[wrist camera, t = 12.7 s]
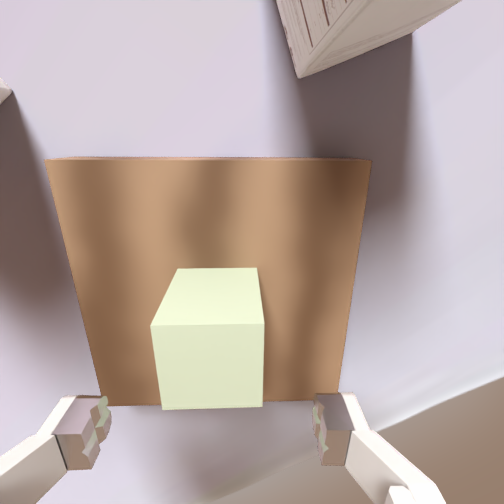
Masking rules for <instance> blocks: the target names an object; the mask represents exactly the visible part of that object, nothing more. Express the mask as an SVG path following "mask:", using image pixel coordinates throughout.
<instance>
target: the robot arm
mask: <svg viewBox="0 0 504 504" xmlns="http://www.w3.org/2000/svg"><path fill="white" fill-rule="evenodd" d="M107 404H108V399H107V396H88V395H66V396H64V397H63V398H61V400H60V401H59V402H58V404H57V405H56V407H55V408H54V409H53V411H52V412H51V414H50V415H49V417H48V418H47V419H46V421H45V422H44V424H43V425H42V426H41V428H40V429H39V431H38V432H37V433H36V435H32V436H30V437H28V438H27V439H25V440H24V441H22V442H21V443H20V444H18V445H17V446H15V447H14V448H12V449H11V450H9V451H8V452H7V453H5V454H4V455H2V456H1V457H0V504H36V503H37V502H38V501H39V500H40V499H41V498H42V497H43V496H44V495H45V494H46V493H47V492H48V491H49V490H50V489H51V488H52V487H53V486H54V485H55V484H56V483H57V482H58V481H59V480H60V479H61V478H62V477H63V476H64V475H65V474H66V473H67V470H86V469H92V467H93V465H94V463H95V461H96V459H97V457H98V455H99V452H100V446H99V444H100V443H101V442H102V441H104V440H105V439H106V437H107V435H108V433H109V430H110V426H111V417H112V416H111V411H110V410H109V409H108V408H106V406H107ZM314 404H315V406H314V407H313V408H312V424H313V430H314V435H315V436H316V437H317V438H318V446H317V448H318V452H319V456H320V460H321V464H322V465H336V466H338V465H339V466H345V468H346V469H347V470H348V472H349V473H350V474H351V475H352V477H353V478H354V479H355V480H356V482H357V483H358V484H359V485H360V487H361V488H362V489H363V490H364V492H365V493H366V494H367V496H368V497H369V498H370V499H371V501H372V502H373V503H374V504H446V502H445V501H444V499H443V497H442V495H441V493H440V491H439V490H438V488H437V486H436V484H435V483H433V482H432V481H431V480H430V479H429V478H428V477H427V476H426V475H424V474H423V473H422V472H421V471H420V470H419V469H418V468H416V467H415V466H414V465H413V464H412V463H410V462H409V461H408V460H407V459H406V458H405V457H404V456H403V455H402V454H400V453H399V452H398V451H397V450H396V449H395V448H394V447H392V446H391V445H390V444H389V443H388V442H387V441H386V440H384V439H383V438H382V437H381V436H380V435H379V434H378V433H376V432H375V431H370V428H369V426H368V424H367V421H366V419H365V417H364V414H363V412H362V410H361V408H360V405H359V403H358V401H357V398H356V396H355V394H354V393H353V392H347V393H339V392H337V393H315V394H314Z"/></svg>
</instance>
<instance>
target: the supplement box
mask: <svg viewBox="0 0 504 504" xmlns="http://www.w3.org/2000/svg"><path fill="white" fill-rule="evenodd" d="M460 1H462V0H276V2H277V5H278V9H279V13H280V16H281V20H282V24H283V27H284V31H285V35H286V38H287V42H288V46H289V49H290V53H291V56H292V60H293V64H294V68H295V71H296V75H297V78H298V79H300V78H303V77H306V76H309V75H311V74H314V73H317V72H319V71H322V70H324V69H327V68H329V67H332V66H334V65H336V64H339V63H341V62H344V61H346V60H349V59H351V58H354V57H356V56H358V55H361V54H363V53H365V52H368V51H370V50H372V49H375V48H377V47H379V46H382V45H384V44H386V43H389V42H391V41H393V40H396V39H398V38H400V37H403V36H405V35H407V34H410V33H412V32H414V31H415V30H416V29H418V28H420V27H421V26H423V25H424V24H426V23H427V22H429V21H430V20H432V19H434V18H435V17H437V16H438V15H440V14H442V13H443V12H445V11H446V10H448V9H449V8H451V7H452V6H454V5H455V4H457V3H458V2H460Z"/></svg>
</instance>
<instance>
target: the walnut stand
mask: <svg viewBox="0 0 504 504" xmlns="http://www.w3.org/2000/svg"><path fill="white" fill-rule="evenodd" d="M44 161H45V166H46V170H47V174H48V178H49V182H50V186H51V190H52V194H53V198H54V203H55V207H56V211H57V215H58V219H59V223H60V227H61V231H62V235H63V240H64V244H65V248H66V252H67V256H68V260H69V264H70V268H71V272H72V277H73V281H74V285H75V289H76V293H77V297H78V301H79V305H80V309H81V314H82V318H83V322H84V326H85V330H86V334H87V338H88V342H89V346H90V351H91V355H92V359H93V363H94V367H95V371H96V375H97V379H98V383H99V388H100V392H101V396H107V399H108V404H107V406H134V405H162V404H161V397H160V390H159V383H158V376H157V370H156V363H155V356H154V349H153V342H152V335H151V328H150V325H151V323H152V321H153V319H154V317H155V315H156V313H157V310H158V308H159V306H160V304H161V302H162V300H163V298H164V296H165V294H166V292H167V290H168V288H169V286H170V283H171V281H172V279H173V277H174V275H175V273H176V271H177V269H192V268H257V272H258V280H259V287H260V294H261V302H262V309H263V316H264V363H263V402H267V401H300V400H314V394H315V393H337V392H338V386H339V379H340V373H341V366H342V359H343V353H344V346H345V339H346V332H347V326H348V319H349V312H350V305H351V299H352V292H353V285H354V279H355V272H356V265H357V258H358V252H359V245H360V238H361V232H362V225H363V218H364V211H365V205H366V198H367V191H368V185H369V178H370V171H371V164H372V161H371V160H364V159H358V158H285V157H66V158H56V159H46V160H44Z"/></svg>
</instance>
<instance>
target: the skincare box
mask: <svg viewBox="0 0 504 504" xmlns="http://www.w3.org/2000/svg"><path fill="white" fill-rule="evenodd" d="M11 92H12V90H11V88H10V87H9V86H8V85H7V84H6V83H5V82H4V81H3V80H2V79H1V78H0V104H1V103H2V102H3V101H4V100H5V99H6V98H7V97H8V96H9V95H10V94H11Z"/></svg>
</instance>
